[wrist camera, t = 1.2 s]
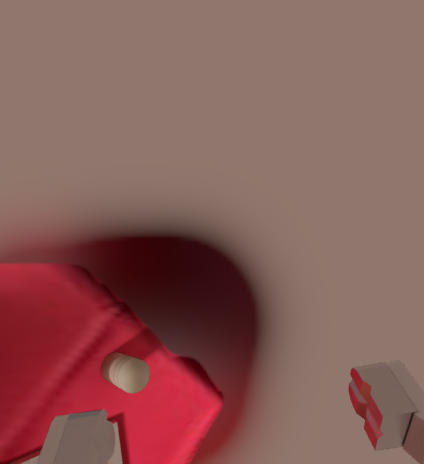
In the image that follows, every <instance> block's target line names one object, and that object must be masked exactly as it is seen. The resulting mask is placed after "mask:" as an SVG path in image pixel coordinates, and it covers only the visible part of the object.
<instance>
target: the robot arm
mask: <svg viewBox="0 0 424 464" xmlns="http://www.w3.org/2000/svg"><path fill="white" fill-rule="evenodd" d="M350 375H351V377H352V379H353V380H352V381H351V382H350V383H349V395H350V399H351V402H352V404H353V407H354V409H355V411H356V413H357V414H358V415H359V416H361V417H362V418H363V419H364V420H365V424H364V429H365V431H366V433H367V435H368V437H369V439H370V441H371V443H372V445H373V447H374V449H375V450H383V449H390V448H397V447H403V449H404V450H405V451H406V452H407V453H408V454H409V455H411V456H412V457H413V458H414V459H415V460H416V461H417V462H419V463H420V464H424V391H423V390H422V388H421V387H420V386H419V384H418V383H417V382H416V380H415V379H414V378H413V376H412V375H411V373H410V372H409V371H408V369H407V368H406V367H405V365H404V364H403V363H402V362H401V361H399V360H395V361H390V362H384V363H382V362H381V363H376V364H370V365H365V366H360V367H354V368H352V369H351V373H350ZM106 419H107V413H106V411H105V410H104V409H100V410H94V411H88V412H81V413H75V414H67V415H61V416H56V417H55V418H54V420H53V421H52V423H51V425H50V428H49V431H48V433H47V436H46V439H45V442H44V444H43V447H42V450H41V453H40V456H39V458H38V461H37V464H108V463H107V462H108V461H109V460H110V458H111V457H112V455H113V454H114V447H115V431H114V426H113V424H112V422H110V421H108V420H106Z"/></svg>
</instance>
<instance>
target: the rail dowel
mask: <svg viewBox="0 0 424 464" xmlns="http://www.w3.org/2000/svg"><path fill="white" fill-rule="evenodd" d="M100 371H101V375H102V377H103V378H104V379H105V380H107V381H109V382H110V383H112V384H114V385H116V386H117V387H119V388H121V389H122V390H124V391H126V392H128V393H137V392H139V391H141V390H142V389H143V388H144V387H145V386H146V385H147V383H148V381H149V377H150V370H149V367H148V365H147V363H146V362H145V361H143V360H141V359H137V358H134V357H131V356H128V355H125V354H122V353H118V352H114V353H111V354H109V355H107V356H106V357H105V358H104V360H103V361H102V363H101V367H100Z"/></svg>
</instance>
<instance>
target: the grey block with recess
mask: <svg viewBox="0 0 424 464" xmlns="http://www.w3.org/2000/svg"><path fill="white" fill-rule="evenodd" d="M110 422H112V424H113V426H114V431H115V447H114V454H113V455H112V457H111V458H110V460H109V461H108V462H107V463H108V464H122V456H121V448H120V440H119V432H118V425H117V421H115V420H114V419H113V420H111V421H110ZM40 453H41V450H39V451H37V452H35V453H32V454H30V455H27V456H25V457H23V458H20V459H18V460H16V461H13V462H11V463H8V464H37V461H38V458H39V456H40Z"/></svg>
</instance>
